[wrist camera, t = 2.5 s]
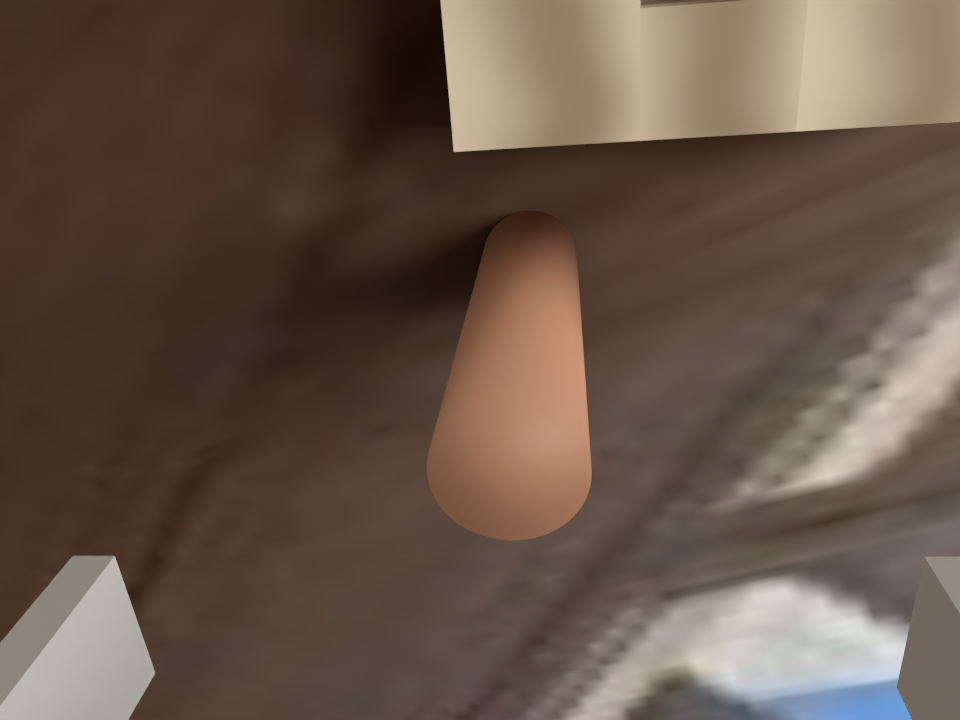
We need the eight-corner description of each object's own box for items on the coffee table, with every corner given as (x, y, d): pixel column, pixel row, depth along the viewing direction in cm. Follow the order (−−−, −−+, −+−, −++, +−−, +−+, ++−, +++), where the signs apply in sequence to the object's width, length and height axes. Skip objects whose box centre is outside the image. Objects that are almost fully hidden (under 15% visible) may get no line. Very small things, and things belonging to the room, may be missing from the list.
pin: (487, 301, 32) (434, 540, 18) (480, 213, 30) (417, 403, 17) (577, 298, 31) (592, 539, 18) (575, 208, 30) (590, 399, 16)
